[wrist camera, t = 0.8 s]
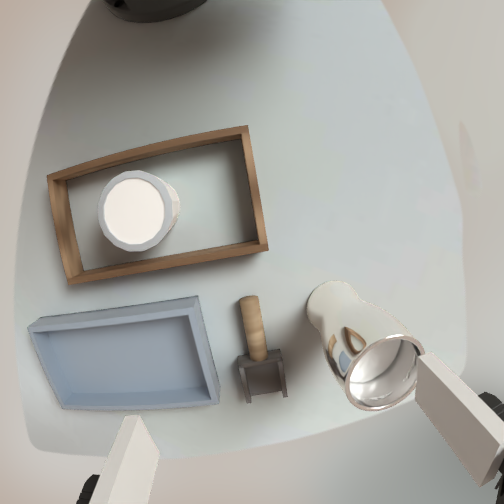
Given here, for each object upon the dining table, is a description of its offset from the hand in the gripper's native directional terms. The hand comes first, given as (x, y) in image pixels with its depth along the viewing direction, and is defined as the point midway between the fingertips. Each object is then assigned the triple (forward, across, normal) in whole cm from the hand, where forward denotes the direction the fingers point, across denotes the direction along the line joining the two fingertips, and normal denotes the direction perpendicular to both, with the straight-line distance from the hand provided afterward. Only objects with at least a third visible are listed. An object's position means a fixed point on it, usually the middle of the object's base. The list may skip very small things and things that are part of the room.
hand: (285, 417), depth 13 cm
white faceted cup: (+22, -9, +10) cm, 25 cm away
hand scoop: (+21, -2, -8) cm, 23 cm away
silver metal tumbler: (+22, +8, -5) cm, 23 cm away
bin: (+21, -17, -6) cm, 28 cm away
